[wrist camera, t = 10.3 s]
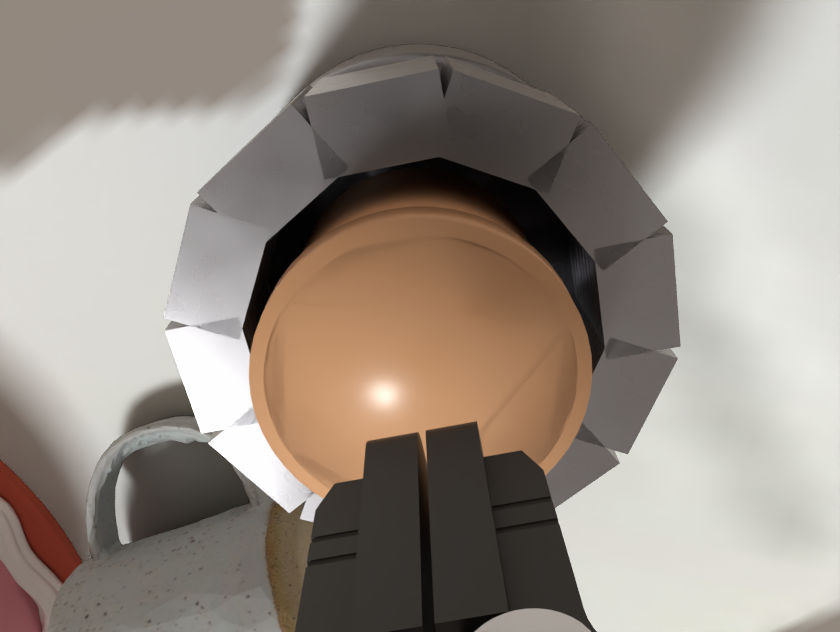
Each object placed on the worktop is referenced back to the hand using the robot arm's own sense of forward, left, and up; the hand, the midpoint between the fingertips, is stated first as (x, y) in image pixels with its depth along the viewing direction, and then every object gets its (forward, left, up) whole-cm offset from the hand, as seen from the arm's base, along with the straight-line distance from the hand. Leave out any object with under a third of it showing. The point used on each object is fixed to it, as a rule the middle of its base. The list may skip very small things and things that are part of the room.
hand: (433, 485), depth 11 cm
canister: (0, 0, -14) cm, 14 cm away
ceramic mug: (+9, +10, -14) cm, 20 cm away
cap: (0, 0, -8) cm, 8 cm away
